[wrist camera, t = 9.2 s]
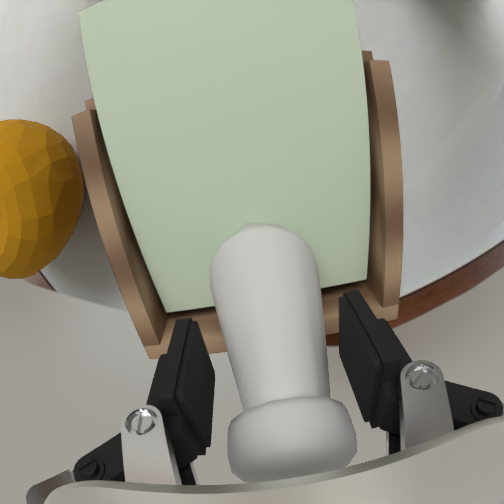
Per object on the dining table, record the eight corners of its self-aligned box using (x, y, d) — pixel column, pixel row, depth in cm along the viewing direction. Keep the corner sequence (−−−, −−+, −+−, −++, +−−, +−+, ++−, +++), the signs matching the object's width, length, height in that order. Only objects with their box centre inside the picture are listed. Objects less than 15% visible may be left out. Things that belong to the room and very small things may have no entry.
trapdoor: (117, 26, 15) (77, 11, 10) (314, -9, 15) (344, -37, 10) (178, 260, 26) (166, 312, 21) (339, 233, 26) (366, 279, 20)
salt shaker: (274, 300, 21) (308, 495, 10) (195, 269, 19) (178, 490, 8) (326, 233, 18) (419, 443, 7) (241, 190, 16) (269, 445, 5)
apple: (53, 264, 28) (-7, 324, 17) (-8, 174, 23) (-81, 203, 13) (133, 191, 25) (71, 236, 15) (61, 87, 21) (-22, 80, 10)
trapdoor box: (130, 106, 22) (68, 100, 13) (331, 71, 22) (385, 44, 12) (174, 286, 29) (149, 359, 19) (350, 256, 29) (397, 318, 19)
